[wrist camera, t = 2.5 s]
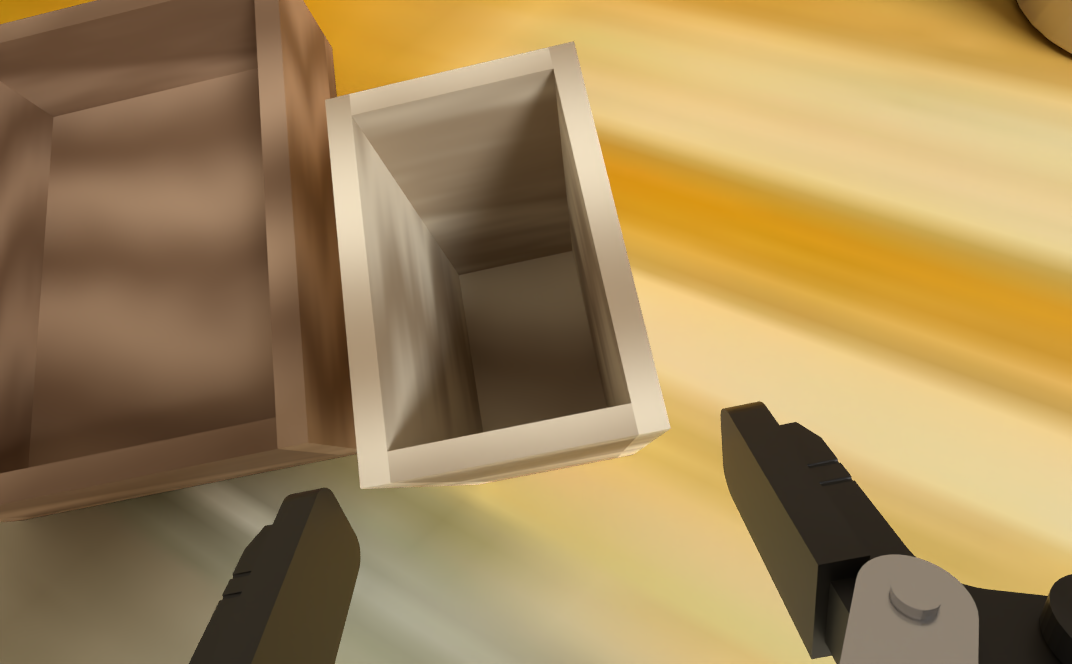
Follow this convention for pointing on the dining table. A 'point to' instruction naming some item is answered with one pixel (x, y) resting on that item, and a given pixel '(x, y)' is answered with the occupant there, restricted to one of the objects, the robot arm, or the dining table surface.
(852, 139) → the dining table surface
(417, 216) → the birch crate
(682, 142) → the dining table surface
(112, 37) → the walnut crate
